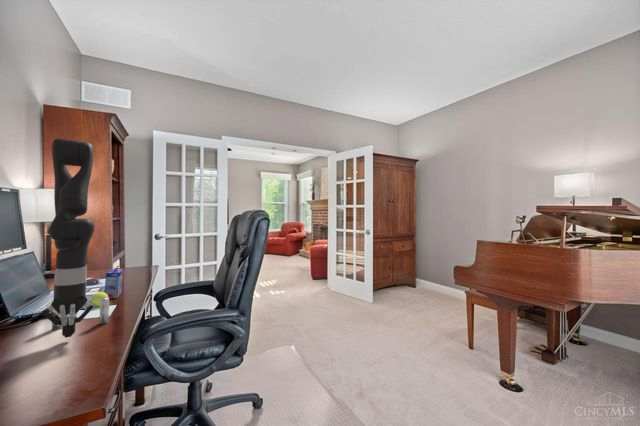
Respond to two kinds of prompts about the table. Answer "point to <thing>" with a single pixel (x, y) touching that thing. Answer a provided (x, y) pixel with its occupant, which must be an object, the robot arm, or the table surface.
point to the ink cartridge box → (113, 283)
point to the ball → (98, 298)
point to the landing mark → (95, 312)
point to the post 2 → (104, 310)
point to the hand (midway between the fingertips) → (68, 336)
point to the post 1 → (56, 327)
